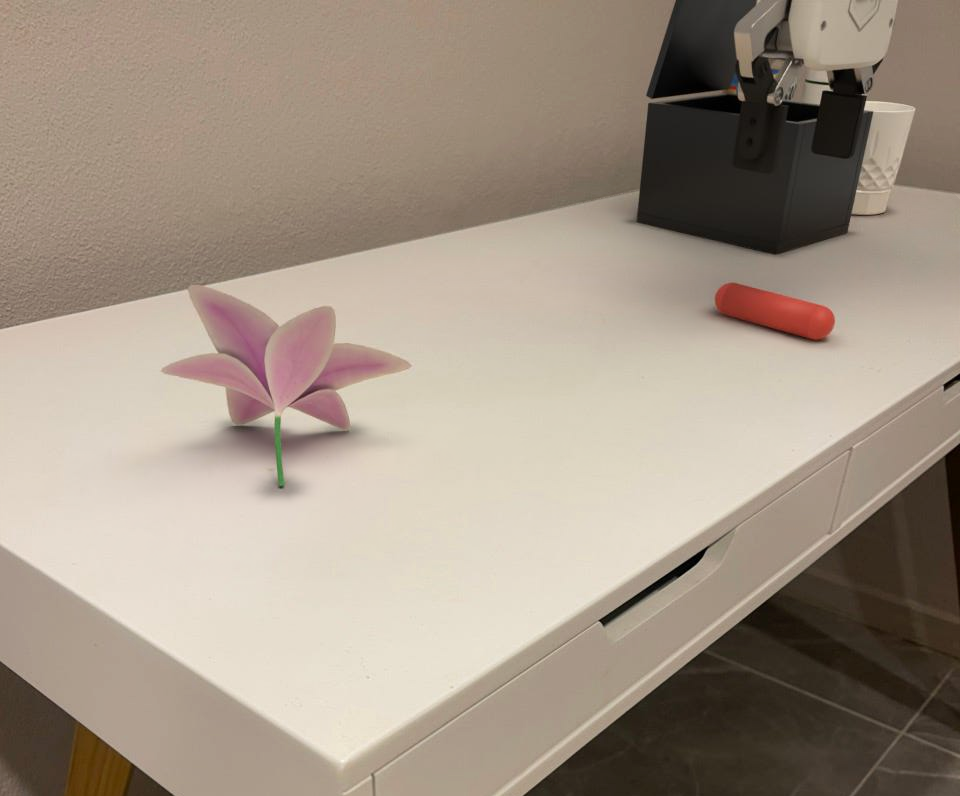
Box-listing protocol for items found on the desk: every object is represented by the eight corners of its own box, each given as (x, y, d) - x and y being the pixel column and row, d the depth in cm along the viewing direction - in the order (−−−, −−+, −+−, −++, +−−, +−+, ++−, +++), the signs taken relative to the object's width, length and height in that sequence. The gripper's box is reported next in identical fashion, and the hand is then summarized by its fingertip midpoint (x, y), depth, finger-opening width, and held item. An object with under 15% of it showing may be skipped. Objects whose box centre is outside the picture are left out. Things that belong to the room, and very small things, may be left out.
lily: (440, 475, 56) (423, 300, 55) (315, 472, 46) (291, 257, 45) (272, 496, 62) (254, 338, 61) (127, 499, 51) (102, 308, 50)
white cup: (820, 214, 106) (841, 109, 101) (812, 199, 113) (832, 99, 107) (897, 218, 105) (922, 112, 100) (885, 202, 112) (908, 102, 106)
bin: (847, 233, 100) (873, 111, 94) (776, 254, 93) (799, 124, 86) (710, 204, 110) (725, 92, 104) (636, 221, 103) (648, 102, 96)
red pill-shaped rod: (837, 339, 73) (844, 306, 72) (819, 346, 72) (826, 313, 70) (724, 307, 79) (729, 276, 78) (706, 313, 78) (710, 282, 76)
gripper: (833, -166, 52) (769, 186, 62) (980, -143, 62) (905, 158, 72) (715, -161, 57) (673, 167, 66) (870, -140, 66) (813, 143, 76)
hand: (794, 162), depth 69 cm, fingers open, 9 cm apart
